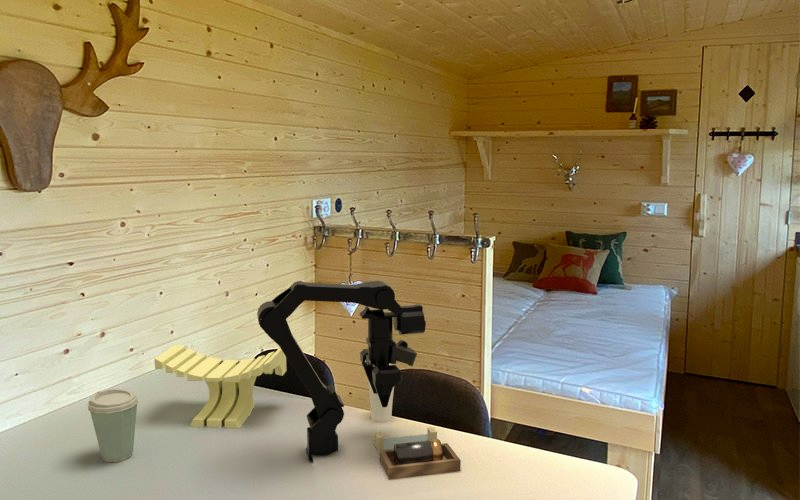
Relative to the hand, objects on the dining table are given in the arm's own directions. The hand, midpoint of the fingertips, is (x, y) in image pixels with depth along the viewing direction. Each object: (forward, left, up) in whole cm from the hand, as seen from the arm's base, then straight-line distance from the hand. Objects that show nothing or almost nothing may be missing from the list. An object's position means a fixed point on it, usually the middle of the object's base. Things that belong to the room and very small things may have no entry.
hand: (380, 400), depth 155 cm
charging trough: (+6, -13, -12) cm, 19 cm away
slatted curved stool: (-36, +30, -12) cm, 48 cm away
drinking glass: (+4, +16, -12) cm, 21 cm away
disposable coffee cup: (-60, +10, -12) cm, 62 cm away
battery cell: (+6, -13, -11) cm, 18 cm away
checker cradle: (+6, -2, -12) cm, 14 cm away
